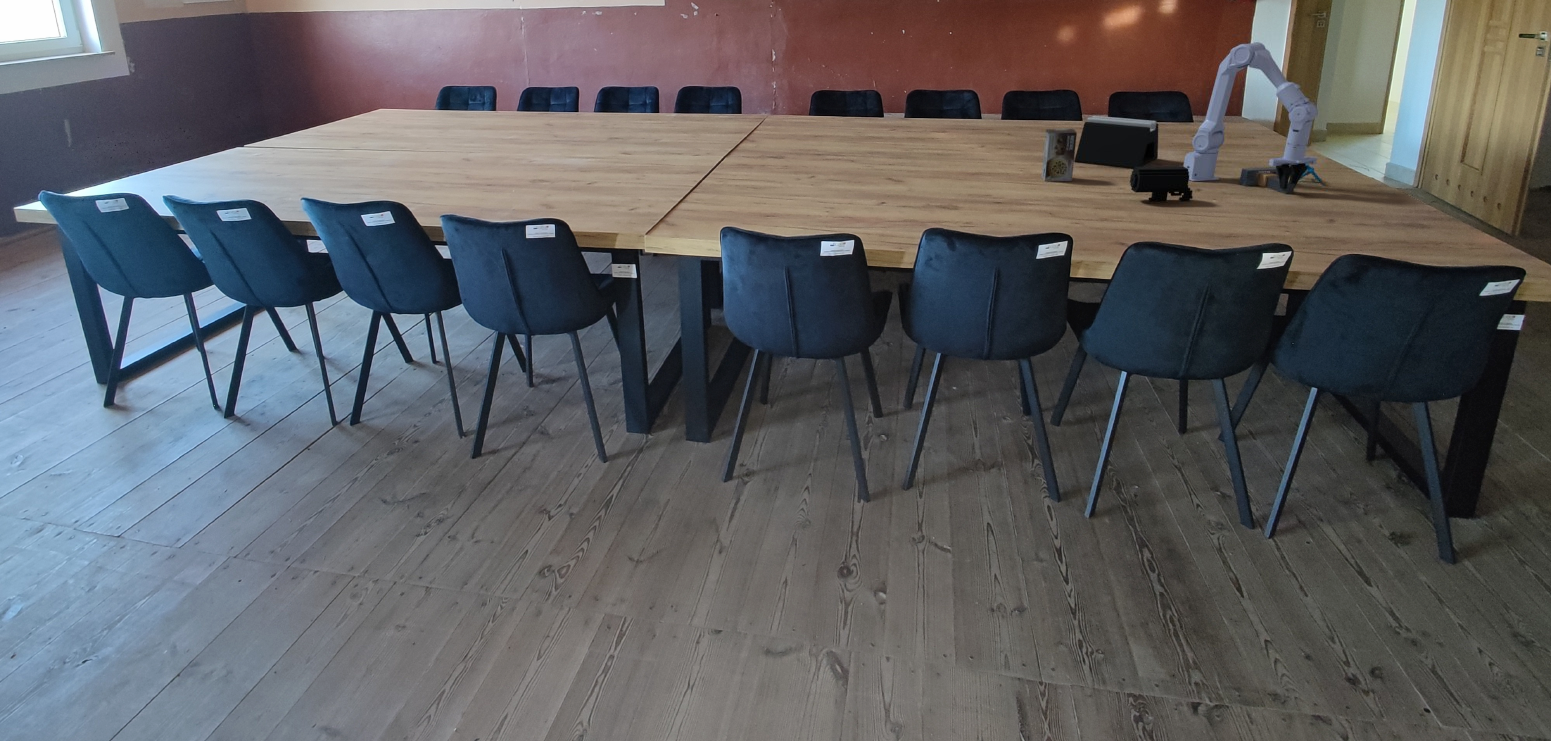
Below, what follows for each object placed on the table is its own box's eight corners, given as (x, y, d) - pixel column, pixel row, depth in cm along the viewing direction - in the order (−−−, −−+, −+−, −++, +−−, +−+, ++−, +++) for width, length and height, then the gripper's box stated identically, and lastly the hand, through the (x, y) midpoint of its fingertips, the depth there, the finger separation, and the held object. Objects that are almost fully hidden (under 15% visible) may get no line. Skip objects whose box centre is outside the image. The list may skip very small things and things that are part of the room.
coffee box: (1068, 177, 308) (1074, 128, 302) (1072, 181, 303) (1077, 132, 296) (1040, 177, 309) (1045, 128, 303) (1044, 181, 303) (1049, 132, 297)
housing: (1244, 186, 293) (1247, 170, 291) (1239, 184, 295) (1242, 168, 293) (1284, 184, 294) (1288, 168, 292) (1278, 182, 297) (1282, 166, 295)
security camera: (1195, 203, 274) (1200, 170, 270) (1133, 204, 274) (1138, 170, 270) (1185, 197, 280) (1191, 165, 276) (1125, 198, 281) (1130, 166, 276)
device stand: (1137, 170, 318) (1143, 126, 311) (1074, 163, 330) (1079, 121, 324) (1157, 159, 334) (1163, 117, 327) (1096, 153, 346) (1101, 112, 340)
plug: (1295, 193, 283) (1297, 182, 281) (1283, 194, 282) (1286, 182, 281) (1265, 183, 296) (1267, 172, 295) (1253, 183, 296) (1256, 172, 294)
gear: (1324, 181, 290) (1304, 156, 291) (1307, 193, 293) (1286, 169, 294) (1322, 178, 300) (1302, 155, 301) (1305, 190, 303) (1285, 167, 304)
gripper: (1283, 147, 273) (1273, 192, 279) (1327, 145, 275) (1317, 190, 281) (1268, 143, 280) (1259, 187, 285) (1311, 141, 281) (1301, 185, 287)
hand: (1287, 188), depth 283 cm, fingers closed on plug, 2 cm apart
